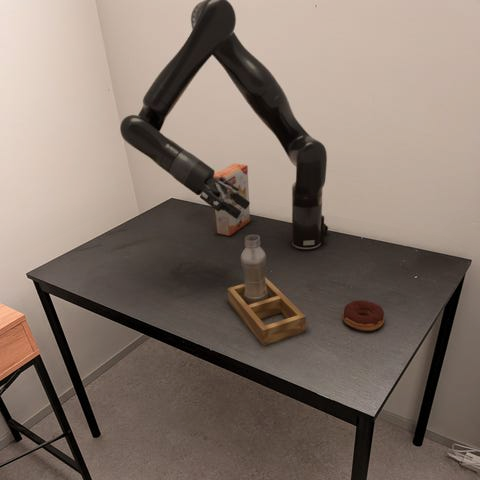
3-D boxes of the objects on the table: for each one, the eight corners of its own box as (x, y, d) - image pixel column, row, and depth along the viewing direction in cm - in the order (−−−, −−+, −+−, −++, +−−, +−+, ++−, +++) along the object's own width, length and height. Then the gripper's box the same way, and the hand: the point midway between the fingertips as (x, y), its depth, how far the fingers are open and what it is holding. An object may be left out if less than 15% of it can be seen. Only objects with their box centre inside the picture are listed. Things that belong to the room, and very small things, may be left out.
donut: (392, 323, 110) (394, 309, 108) (363, 338, 106) (364, 325, 104) (362, 305, 117) (363, 292, 115) (333, 319, 113) (334, 306, 111)
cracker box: (231, 237, 157) (225, 177, 145) (216, 234, 160) (210, 175, 148) (251, 221, 166) (248, 164, 154) (237, 219, 169) (233, 162, 157)
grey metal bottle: (274, 305, 121) (271, 235, 109) (257, 316, 117) (253, 246, 105) (256, 297, 124) (251, 229, 113) (239, 308, 121) (233, 239, 109)
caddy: (266, 291, 127) (265, 277, 124) (305, 331, 110) (305, 316, 108) (228, 302, 123) (227, 288, 121) (263, 345, 107) (262, 330, 104)
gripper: (188, 165, 106) (244, 206, 108) (208, 154, 118) (258, 191, 119) (174, 191, 110) (228, 230, 112) (194, 178, 122) (243, 214, 124)
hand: (243, 210), depth 116 cm, fingers open, 8 cm apart
